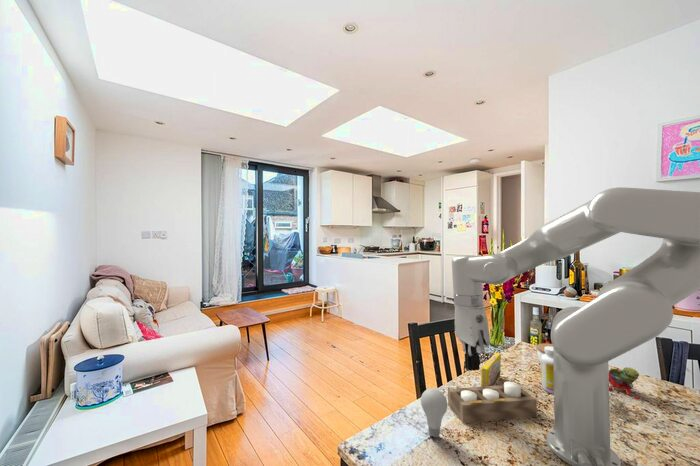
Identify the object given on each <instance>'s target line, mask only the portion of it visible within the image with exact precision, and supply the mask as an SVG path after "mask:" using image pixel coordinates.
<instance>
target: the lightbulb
mask: <svg viewBox="0 0 700 466" xmlns="http://www.w3.org/2000/svg"><path fill="white" fill-rule="evenodd" d="M420 405H421V408H422V410H423V412H424V414H425V416H426V423H427V426H428V427H427V428H428V435H430V436H431V437H432V436H433V437H432V438H437V437H439V436H440V434H441V427H442V419H443V417H444V416H445V414H446V413H447V409H448V399H447V398H446V396H445V394H444V393H443V392H442V391H441V390H439V389H438V388H434V387H433V388H432V387H430V388H427V389H425V390H424V391H423V392H422V394H421V397H420Z"/></svg>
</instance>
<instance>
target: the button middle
mask: <svg viewBox="0 0 700 466" xmlns="http://www.w3.org/2000/svg"><path fill="white" fill-rule="evenodd" d="M483 396H484V397H485V398H487V399H488V400H491V399H499V393H498V392H497V391H495V390H493V389H483Z"/></svg>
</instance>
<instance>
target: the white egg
mask: <svg viewBox="0 0 700 466" xmlns="http://www.w3.org/2000/svg"><path fill="white" fill-rule="evenodd" d="M461 398H462V399H463V400H464V401H465V402H467V401H476V400H477V395H476V394H475V393H474V392H472V391H468V390H463V391H461Z"/></svg>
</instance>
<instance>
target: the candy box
mask: <svg viewBox="0 0 700 466" xmlns="http://www.w3.org/2000/svg"><path fill="white" fill-rule="evenodd" d="M501 355H502V354H501V353H499V352H494V354H493V355H492V356H491V357H490V358H489V359H488V360H487V361H486V362H485V364H483V365H482V367H481V375H480V376H481V377H480V379H481V380H480V387H483V386H496V384H497V382H498V381H499V379H500V378H501V367H502V366H501V362H502V361H501V357H502V356H501Z"/></svg>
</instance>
